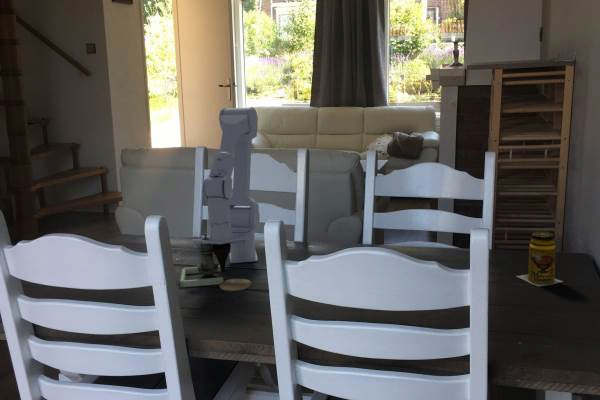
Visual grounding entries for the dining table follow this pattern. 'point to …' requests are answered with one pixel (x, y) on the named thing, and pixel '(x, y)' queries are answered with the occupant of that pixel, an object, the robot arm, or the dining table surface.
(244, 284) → the cork coaster
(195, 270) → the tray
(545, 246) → the condiment
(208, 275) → the salt shaker
